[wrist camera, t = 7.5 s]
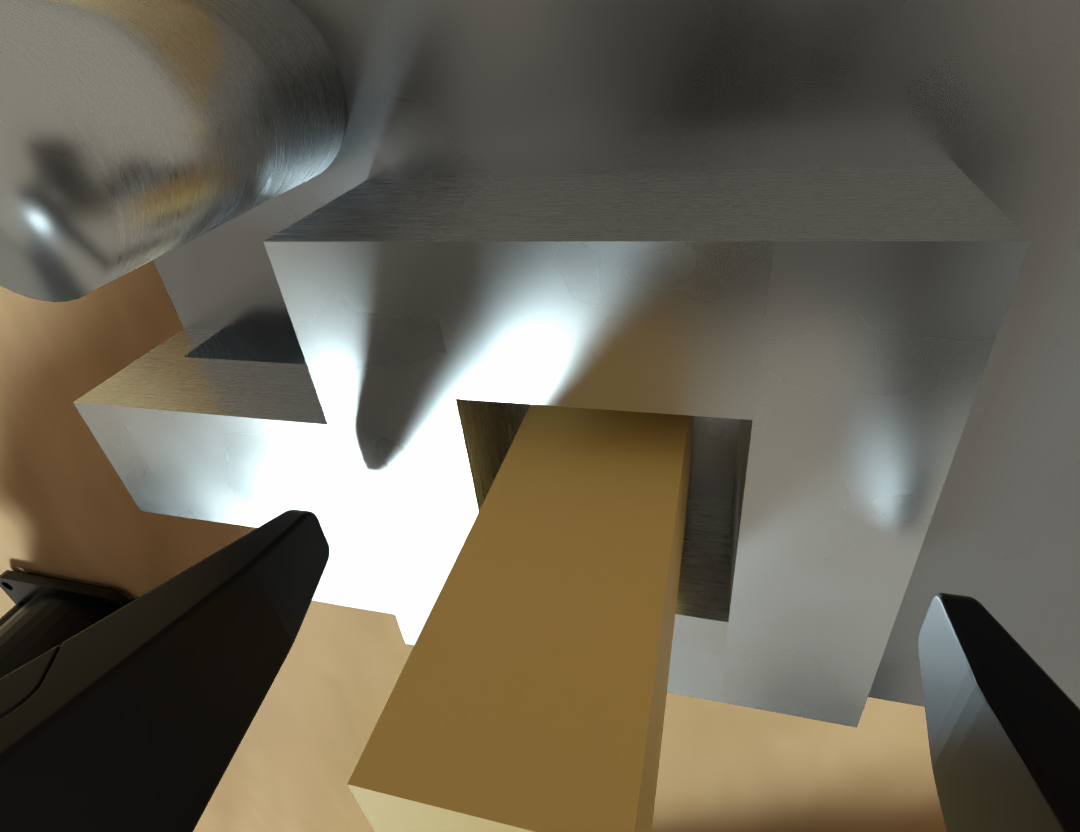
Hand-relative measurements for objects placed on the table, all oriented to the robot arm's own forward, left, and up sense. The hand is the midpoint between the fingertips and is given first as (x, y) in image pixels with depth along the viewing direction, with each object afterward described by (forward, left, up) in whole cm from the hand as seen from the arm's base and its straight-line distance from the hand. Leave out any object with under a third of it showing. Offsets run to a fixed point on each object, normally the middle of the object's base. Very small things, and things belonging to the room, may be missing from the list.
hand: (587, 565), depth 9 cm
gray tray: (0, 0, -5) cm, 5 cm away
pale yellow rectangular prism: (0, 0, -4) cm, 4 cm away
